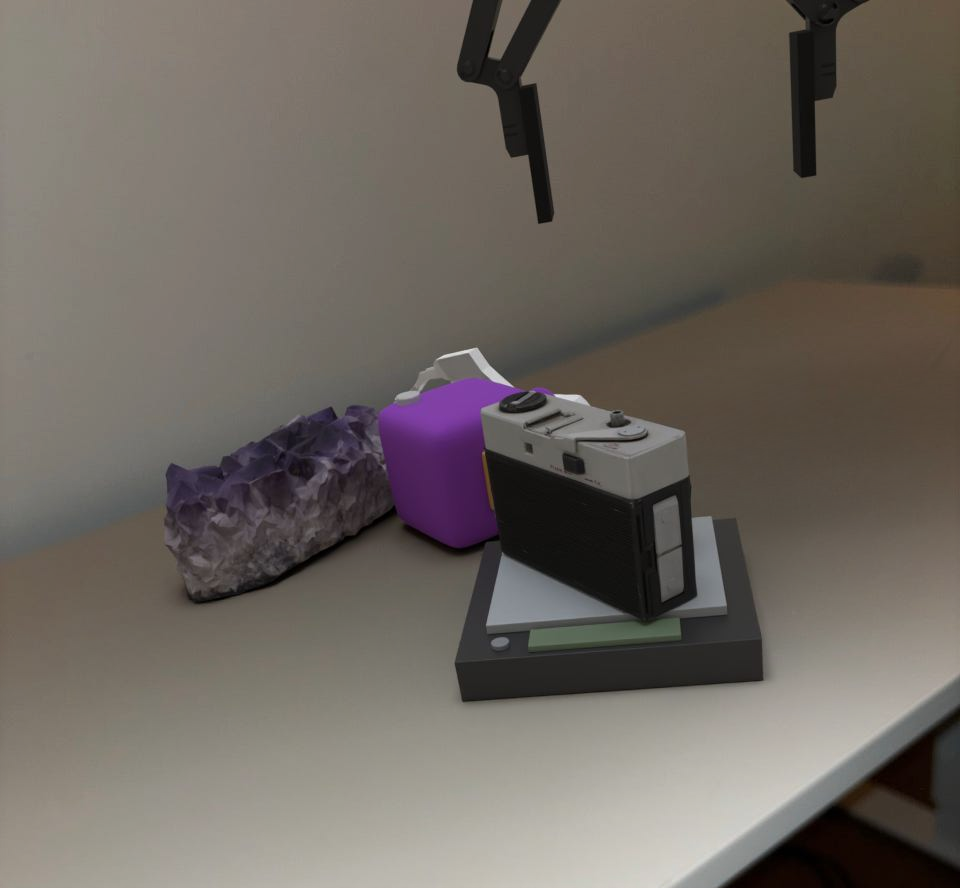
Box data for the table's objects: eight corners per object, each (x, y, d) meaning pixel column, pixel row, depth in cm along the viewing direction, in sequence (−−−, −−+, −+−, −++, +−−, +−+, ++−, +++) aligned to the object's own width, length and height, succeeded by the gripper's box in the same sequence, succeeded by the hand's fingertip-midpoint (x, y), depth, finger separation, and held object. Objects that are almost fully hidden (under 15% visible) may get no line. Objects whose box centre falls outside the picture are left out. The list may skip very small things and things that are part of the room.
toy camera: (606, 491, 80) (592, 360, 75) (478, 564, 72) (453, 424, 68) (505, 469, 87) (487, 349, 82) (379, 534, 80) (350, 406, 75)
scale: (737, 553, 68) (735, 508, 66) (763, 680, 55) (761, 628, 54) (491, 575, 71) (484, 533, 69) (462, 701, 58) (452, 652, 56)
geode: (262, 619, 71) (201, 481, 66) (159, 613, 78) (98, 488, 74) (439, 488, 84) (398, 366, 80) (337, 493, 91) (294, 381, 87)
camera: (758, 575, 58) (744, 400, 53) (618, 639, 55) (589, 460, 50) (620, 505, 69) (598, 355, 64) (498, 555, 67) (465, 403, 62)
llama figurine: (443, 495, 101) (592, 433, 89) (384, 387, 98) (530, 308, 86) (453, 487, 102) (601, 425, 90) (395, 381, 100) (540, 302, 88)
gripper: (909, -374, 47) (902, 144, 58) (369, -233, 52) (453, 224, 62) (956, -432, 41) (938, 162, 51) (335, -266, 45) (435, 249, 56)
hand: (672, 197), depth 57 cm, fingers open, 13 cm apart
